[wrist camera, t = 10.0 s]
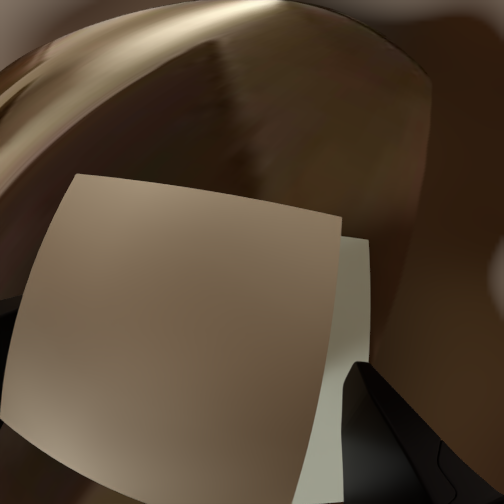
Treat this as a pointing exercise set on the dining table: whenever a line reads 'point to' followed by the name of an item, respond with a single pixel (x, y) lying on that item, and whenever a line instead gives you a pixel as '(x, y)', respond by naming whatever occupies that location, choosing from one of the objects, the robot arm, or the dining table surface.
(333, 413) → the sage mat
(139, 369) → the birch block
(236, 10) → the dining table surface
